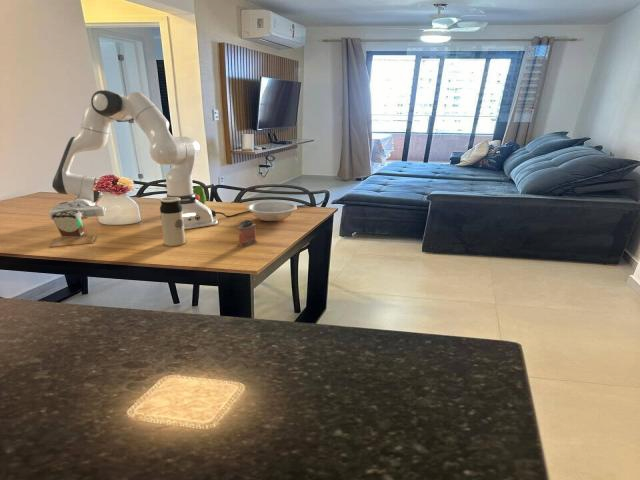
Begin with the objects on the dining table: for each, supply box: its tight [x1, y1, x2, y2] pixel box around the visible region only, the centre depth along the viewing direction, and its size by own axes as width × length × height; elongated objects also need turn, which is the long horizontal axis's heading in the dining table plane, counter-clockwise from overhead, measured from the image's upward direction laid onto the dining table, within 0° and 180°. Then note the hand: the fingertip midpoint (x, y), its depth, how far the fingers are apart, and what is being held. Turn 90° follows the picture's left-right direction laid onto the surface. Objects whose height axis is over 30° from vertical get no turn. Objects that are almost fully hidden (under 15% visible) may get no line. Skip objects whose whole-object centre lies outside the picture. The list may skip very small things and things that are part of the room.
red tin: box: [237, 218, 257, 247], centre depth 151 cm, size 8×3×10 cm, turn 141°
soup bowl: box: [246, 200, 298, 222], centre depth 186 cm, size 24×24×7 cm
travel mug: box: [159, 196, 186, 247], centre depth 149 cm, size 8×8×18 cm
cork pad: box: [49, 235, 96, 248], centre depth 151 cm, size 14×9×1 cm, turn 112°
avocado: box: [193, 185, 207, 205], centre depth 205 cm, size 8×8×12 cm
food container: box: [50, 209, 86, 238], centre depth 156 cm, size 12×6×10 cm, turn 79°
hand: (75, 216), depth 157 cm, fingers closed
